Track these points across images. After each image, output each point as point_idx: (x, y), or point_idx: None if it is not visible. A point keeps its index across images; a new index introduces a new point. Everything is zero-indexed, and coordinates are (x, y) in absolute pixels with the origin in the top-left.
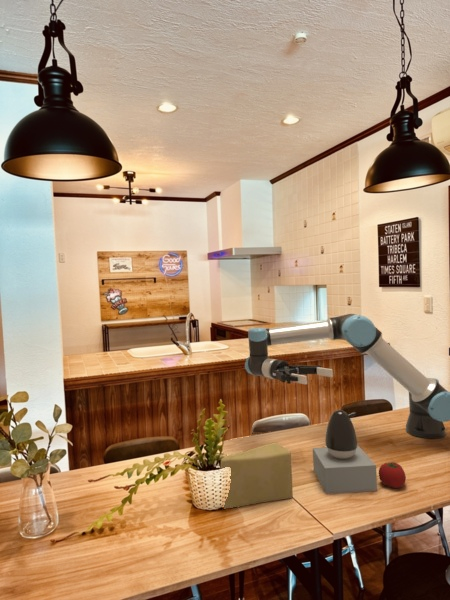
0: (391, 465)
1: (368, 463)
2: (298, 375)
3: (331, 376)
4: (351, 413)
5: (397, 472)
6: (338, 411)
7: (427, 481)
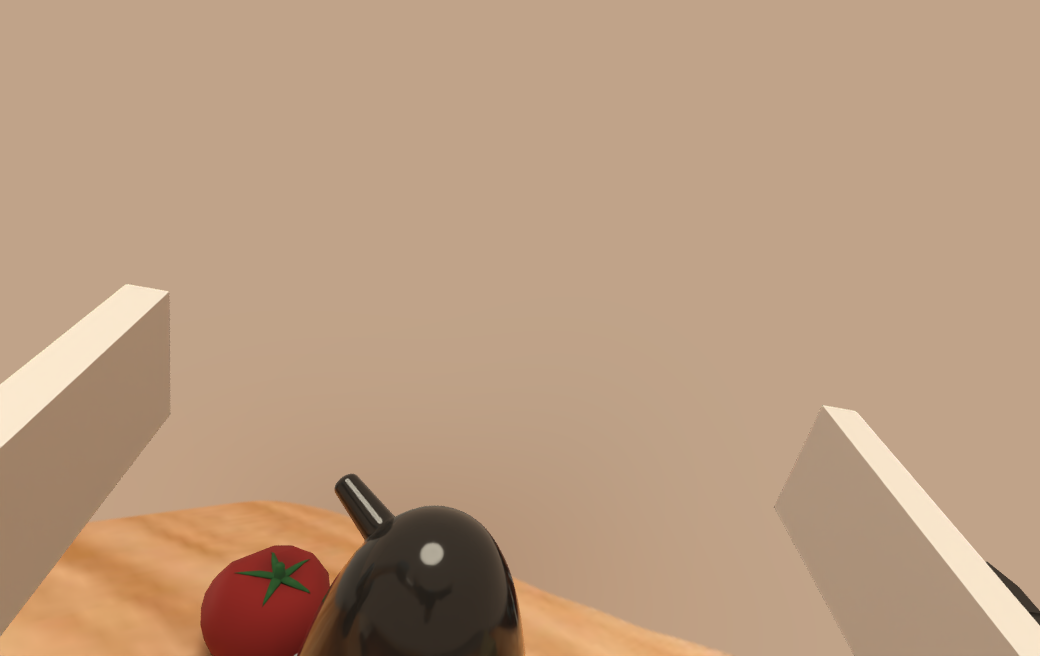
0: (285, 572)
1: None
2: (936, 513)
3: (168, 403)
4: (372, 495)
5: (314, 555)
6: (466, 528)
7: (152, 558)
